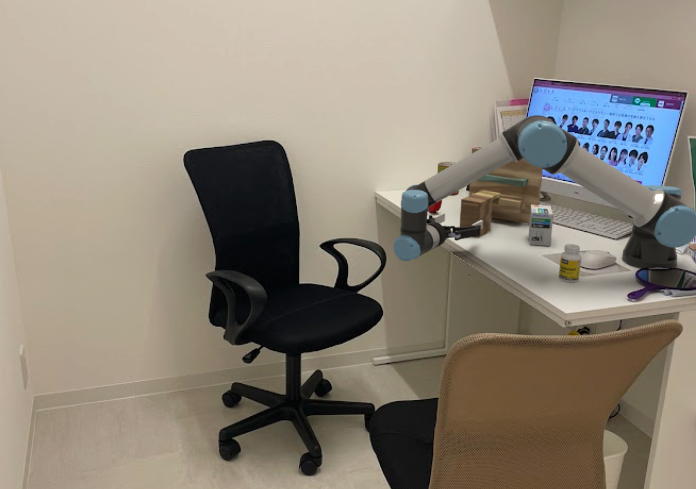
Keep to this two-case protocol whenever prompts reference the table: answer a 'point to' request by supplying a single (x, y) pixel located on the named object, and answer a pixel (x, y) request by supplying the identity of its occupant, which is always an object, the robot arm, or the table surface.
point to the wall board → (512, 189)
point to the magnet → (435, 207)
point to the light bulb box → (540, 225)
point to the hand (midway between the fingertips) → (462, 220)
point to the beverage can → (442, 167)
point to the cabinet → (478, 209)
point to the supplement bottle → (570, 263)
